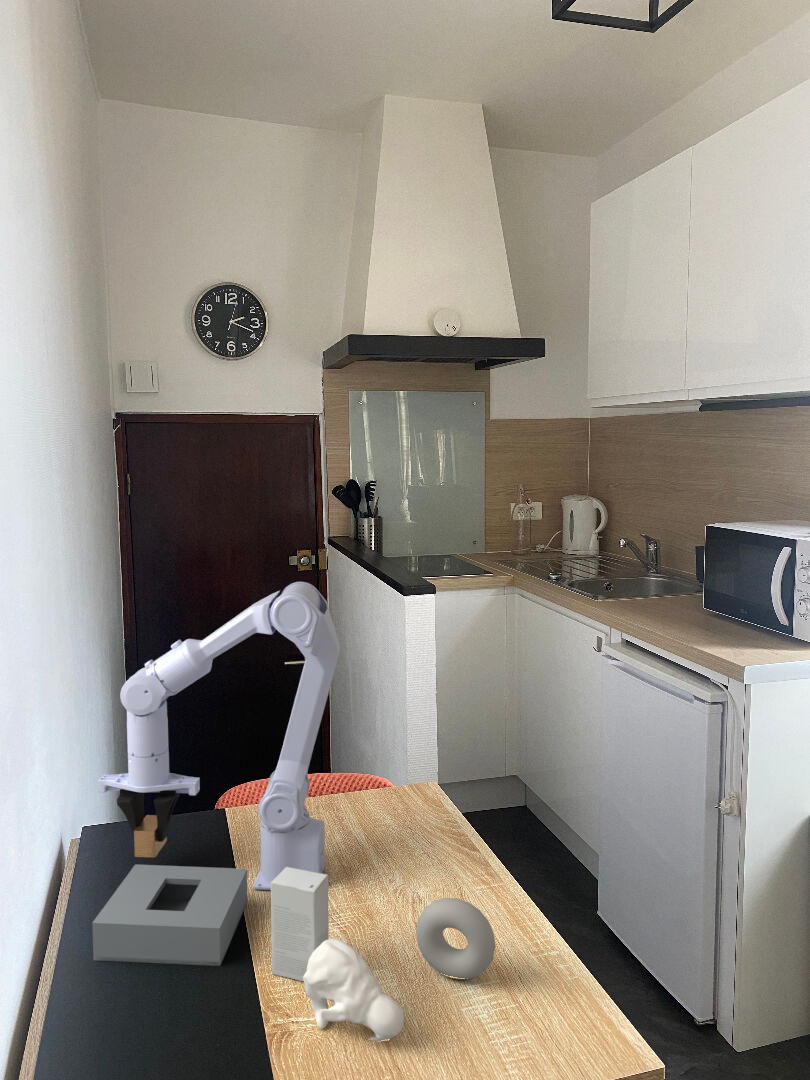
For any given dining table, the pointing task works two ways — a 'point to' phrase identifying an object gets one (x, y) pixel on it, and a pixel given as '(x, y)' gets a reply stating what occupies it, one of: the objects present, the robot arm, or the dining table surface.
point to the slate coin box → (171, 915)
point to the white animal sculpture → (349, 991)
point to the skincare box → (297, 920)
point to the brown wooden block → (147, 838)
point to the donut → (469, 924)
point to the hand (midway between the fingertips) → (150, 838)
